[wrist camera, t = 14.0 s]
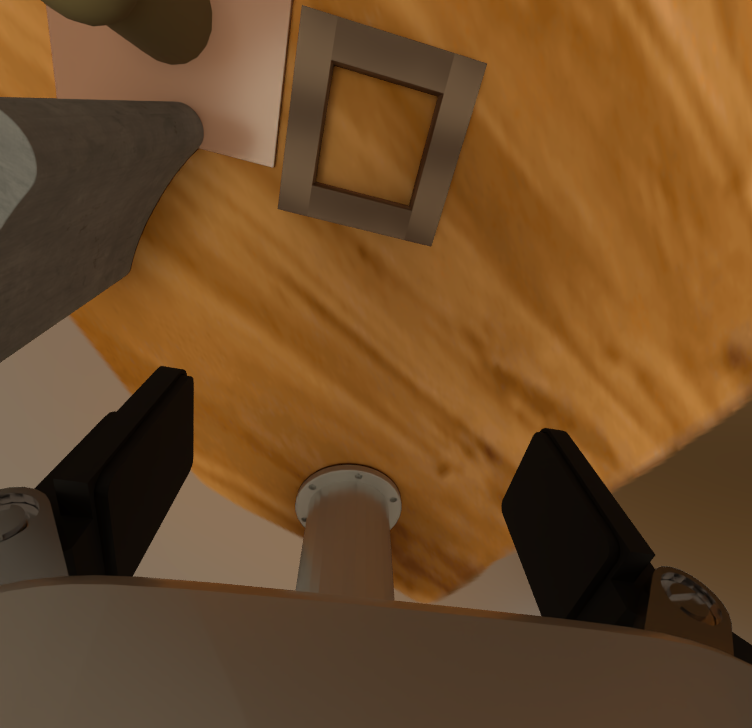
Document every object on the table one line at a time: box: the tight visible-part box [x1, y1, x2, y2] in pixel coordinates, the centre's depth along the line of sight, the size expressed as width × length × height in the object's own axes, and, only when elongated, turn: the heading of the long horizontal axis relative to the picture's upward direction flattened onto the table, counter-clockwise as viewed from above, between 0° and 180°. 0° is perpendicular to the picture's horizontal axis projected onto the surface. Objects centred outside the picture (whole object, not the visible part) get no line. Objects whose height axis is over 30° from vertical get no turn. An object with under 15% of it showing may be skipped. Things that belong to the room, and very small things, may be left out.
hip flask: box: [0, 97, 204, 362], centre depth 23 cm, size 16×4×20 cm, turn 139°
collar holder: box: [278, 5, 487, 246], centre depth 29 cm, size 12×12×2 cm
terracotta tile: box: [46, 0, 293, 167], centre depth 26 cm, size 15×15×1 cm
